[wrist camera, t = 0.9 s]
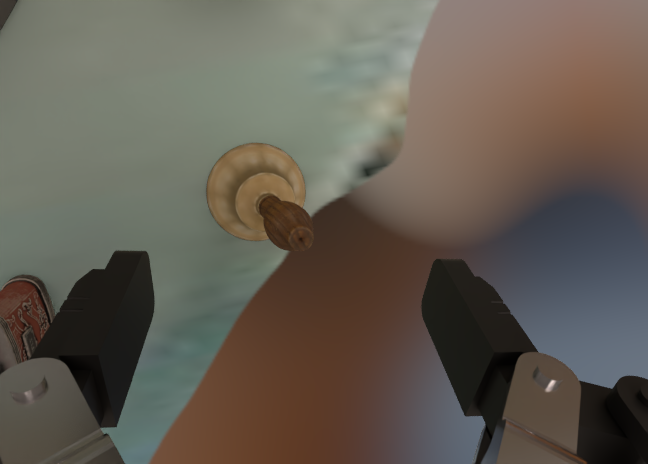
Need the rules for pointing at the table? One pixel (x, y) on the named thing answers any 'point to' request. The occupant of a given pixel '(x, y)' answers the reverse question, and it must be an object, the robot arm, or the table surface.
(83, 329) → the robot arm
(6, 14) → the rail
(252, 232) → the hand bell
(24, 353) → the lighter
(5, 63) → the table surface
